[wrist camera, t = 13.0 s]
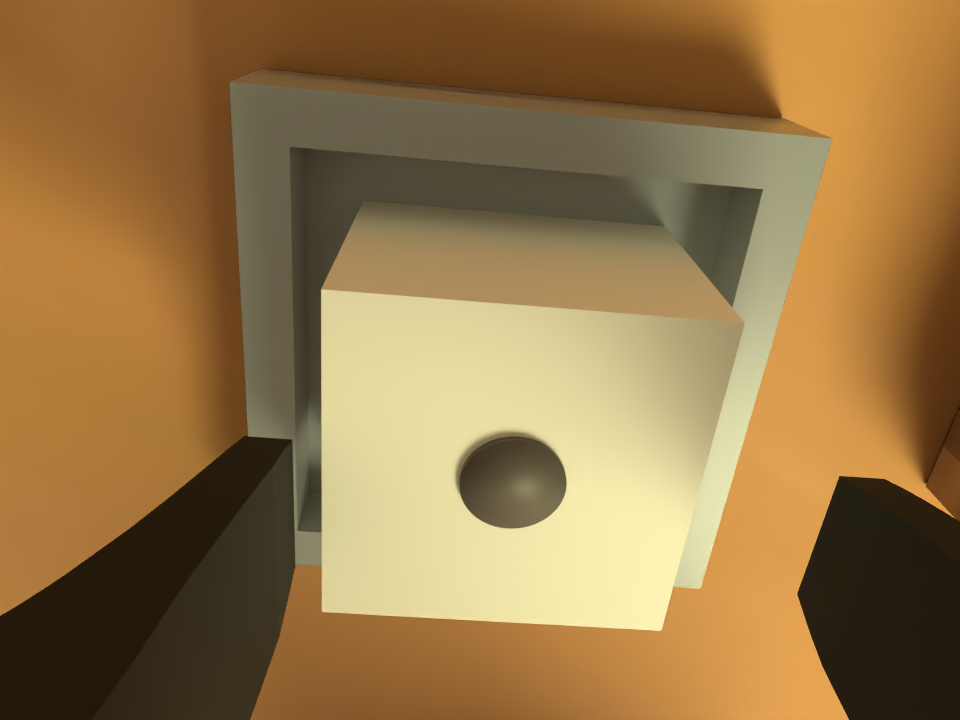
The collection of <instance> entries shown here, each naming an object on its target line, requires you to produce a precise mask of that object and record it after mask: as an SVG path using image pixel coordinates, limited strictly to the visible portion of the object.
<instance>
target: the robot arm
mask: <svg viewBox="0 0 960 720" xmlns="http://www.w3.org/2000/svg"><path fill="white" fill-rule="evenodd" d="M294 569H295V527H294V484H293V441H292V439H279V438H264V437H250V436H244V437H243V438H242V439H240V440H239V441H238V442H236V443H235V444H234V445H233V446H231V447H230V448H229V449H228V450H226V451H225V452H224V453H223V454H222V455H220V456H219V457H218V458H217V459H215V460H214V461H213V462H212V463H211V464H209V465H208V466H207V467H206V468H205V469H203V470H202V471H201V472H200V473H199V474H197V475H196V476H195V477H194V478H192V479H191V480H190V481H189V482H188V483H186V484H185V485H184V486H183V487H182V488H180V489H179V490H178V491H177V492H175V493H174V494H173V495H172V496H171V497H169V498H168V499H167V500H165V501H164V502H163V503H162V504H160V505H159V506H158V507H157V508H155V509H154V510H153V511H151V512H150V513H149V514H148V515H146V516H145V517H144V518H143V519H141V520H140V521H139V522H138V523H136V524H135V525H134V526H132V527H131V528H130V529H129V530H127V531H126V532H124V533H123V534H122V535H120V536H119V537H117V538H116V539H115V540H113V541H112V542H110V543H109V544H108V545H106V546H105V547H103V548H102V549H101V550H99V551H98V552H96V553H95V554H94V555H92V556H91V557H89V558H88V559H87V560H85V561H84V562H82V563H81V564H80V565H78V566H77V567H75V568H74V569H73V570H71V571H70V572H69V573H67V574H66V575H64V576H63V577H61V578H60V579H58V580H57V581H55V582H54V583H52V584H51V585H49V586H48V587H46V588H45V589H43V590H42V591H40V592H38V593H37V594H35V595H34V596H32V597H31V598H29V599H27V600H26V601H24V602H23V603H21V604H20V605H18V606H16V607H15V608H13V609H11V610H10V611H8V612H6V613H5V614H3V615H1V616H0V720H250V718H251V715H252V712H253V710H254V707H255V704H256V701H257V698H258V696H259V693H260V690H261V687H262V684H263V681H264V679H265V676H266V673H267V670H268V667H269V664H270V661H271V659H272V656H273V653H274V650H275V647H276V644H277V641H278V638H279V635H280V631H281V627H282V622H283V618H284V614H285V610H286V605H287V601H288V596H289V592H290V587H291V582H292V578H293V573H294ZM797 594H798V598H799V601H800V604H801V607H802V610H803V613H804V616H805V619H806V622H807V625H808V628H809V631H810V634H811V637H812V639H813V642H814V645H815V647H816V650H817V653H818V655H819V658H820V661H821V664H822V666H823V668H824V670H825V672H826V674H827V676H828V678H829V680H830V682H831V685H832V686H833V688H834V690H835V692H836V694H837V696H838V698H839V700H840V702H841V704H842V706H843V708H844V710H845V712H846V714H847V716H848V718H849V720H960V521H958V520H956V519H955V518H953V517H951V516H950V515H948V514H946V513H945V512H943V511H941V510H940V509H938V508H936V507H935V506H933V505H931V504H930V503H928V502H926V501H925V500H923V499H921V498H919V497H918V496H916V495H914V494H912V493H910V492H909V491H907V490H905V489H903V488H901V487H899V486H897V485H895V484H893V483H891V482H889V481H887V480H885V479H875V478H860V477H845V476H839V479H838V482H837V485H836V487H835V490H834V493H833V496H832V499H831V501H830V504H829V507H828V510H827V513H826V515H825V518H824V521H823V524H822V527H821V529H820V532H819V535H818V538H817V540H816V543H815V546H814V549H813V552H812V554H811V557H810V560H809V563H808V566H807V568H806V571H805V574H804V577H803V580H802V582H801V585H800V588H799V591H798V593H797Z"/></svg>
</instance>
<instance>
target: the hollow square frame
mask: <svg viewBox="0 0 960 720" xmlns="http://www.w3.org/2000/svg"><path fill="white" fill-rule="evenodd" d="M926 487H927V488H928V489H929V490H930V491H931V493H932V494H933V495H934V496H935V497H936V498H937V499H938V500H939V501H940V502H941V503H942V505H943V506H944V507H945V508H946V509H947V510H948V511H949V512H950V513H951V514H952V515H953V516H954V518H955V519H956V520H958V521H960V408H959V410H958V413H957V415H956V417H955V420H954V422H953V424H952V426H951V429H950V431H949V433H948V436H947V438H946V440H945V443H944V445H943V447H942V449H941V452H940V454H939V456H938V459H937V461H936V463H935V466H934V468H933V470H932V472H931V475H930V477H929V479H928V482H927V484H926Z"/></svg>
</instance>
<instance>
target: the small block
mask: <svg viewBox="0 0 960 720" xmlns="http://www.w3.org/2000/svg"><path fill="white" fill-rule="evenodd" d="M744 324H745V322H744V321H743V320H742V319H741V318H740V316H739V315H738V314H737V313H736V312H735V310H734V309H733V308H732V307H731V306H730V304H729V303H728V302H727V301H726V300H725V298H724V297H723V296H722V295H721V294H720V292H719V291H718V290H717V289H716V287H715V286H714V285H713V284H712V283H711V281H710V280H709V279H708V278H707V277H706V275H705V274H704V273H703V272H702V271H701V269H700V268H699V267H698V266H697V265H696V263H695V262H694V261H693V260H692V259H691V257H690V256H689V255H688V254H687V253H686V251H685V250H684V249H683V248H682V246H681V245H680V244H679V243H678V242H677V240H676V239H675V238H674V237H673V236H672V234H671V233H670V232H669V231H668V230H667V228H666V227H665V226H654V225H643V224H631V223H619V222H608V221H596V220H585V219H573V218H561V217H550V216H538V215H526V214H515V213H503V212H491V211H480V210H468V209H457V208H445V207H433V206H422V205H410V204H398V203H387V202H375V201H363V203H362V205H361V207H360V209H359V211H358V213H357V215H356V217H355V219H354V221H353V224H352V226H351V228H350V230H349V232H348V234H347V236H346V238H345V240H344V242H343V245H342V247H341V249H340V251H339V253H338V255H337V257H336V259H335V261H334V264H333V266H332V268H331V270H330V272H329V274H328V276H327V278H326V280H325V282H324V285H323V287H322V289H321V424H322V612H331V613H349V614H368V615H386V616H404V617H422V618H440V619H458V620H477V621H495V622H513V623H531V624H549V625H567V626H586V627H604V628H622V629H640V630H658V631H661V630H662V626H663V623H664V619H665V615H666V611H667V608H668V604H669V600H670V597H671V593H672V589H673V586H674V582H675V578H676V575H677V571H678V567H679V564H680V560H681V556H682V553H683V549H684V545H685V541H686V538H687V534H688V530H689V527H690V523H691V519H692V516H693V512H694V508H695V505H696V501H697V497H698V494H699V490H700V486H701V483H702V479H703V475H704V471H705V468H706V464H707V460H708V457H709V453H710V449H711V446H712V442H713V438H714V435H715V431H716V427H717V424H718V420H719V416H720V413H721V409H722V405H723V401H724V398H725V394H726V390H727V387H728V383H729V379H730V376H731V372H732V368H733V365H734V361H735V357H736V354H737V350H738V346H739V343H740V339H741V335H742V331H743V328H744Z"/></svg>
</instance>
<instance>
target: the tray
mask: <svg viewBox="0 0 960 720" xmlns="http://www.w3.org/2000/svg"><path fill="white" fill-rule="evenodd" d="M229 85H230V104H231V123H232V142H233V161H234V179H235V198H236V217H237V236H238V255H239V274H240V292H241V311H242V330H243V349H244V368H245V387H246V406H247V424H248V436H250V437H264V438H279V439H292V441H293V484H294V527H295V565H308V566H322V424H321V289H322V287H323V285H324V282H325V280H326V278H327V276H328V274H329V272H330V270H331V268H332V266H333V264H334V261H335V259H336V257H337V255H338V253H339V251H340V249H341V247H342V245H343V242H344V240H345V238H346V236H347V234H348V232H349V230H350V228H351V226H352V224H353V221H354V219H355V217H356V215H357V213H358V211H359V209H360V207H361V205H362V203H363V201H375V202H387V203H398V204H410V205H422V206H433V207H445V208H457V209H468V210H480V211H491V212H503V213H515V214H526V215H538V216H550V217H561V218H573V219H585V220H596V221H608V222H619V223H631V224H643V225H654V226H665V227H666V228H667V230H668V231H669V232H670V233H671V234H672V236H673V237H674V238H675V239H676V240H677V242H678V243H679V244H680V245H681V246H682V248H683V249H684V250H685V251H686V253H687V254H688V255H689V256H690V257H691V259H692V260H693V261H694V262H695V263H696V265H697V266H698V267H699V268H700V269H701V271H702V272H703V273H704V274H705V275H706V277H707V278H708V279H709V280H710V281H711V283H712V284H713V285H714V286H715V287H716V289H717V290H718V291H719V292H720V294H721V295H722V296H723V297H724V298H725V300H726V301H727V302H728V303H729V304H730V306H731V307H732V308H733V309H734V310H735V312H736V313H737V314H738V315H739V316H740V318H741V319H742V320H743V321H744V322H745V324H744V328H743V331H742V335H741V339H740V343H739V346H738V350H737V354H736V357H735V361H734V365H733V368H732V372H731V376H730V379H729V383H728V387H727V390H726V394H725V398H724V401H723V405H722V409H721V413H720V416H719V420H718V424H717V427H716V431H715V435H714V438H713V442H712V446H711V449H710V453H709V457H708V460H707V464H706V468H705V471H704V475H703V479H702V483H701V486H700V490H699V494H698V497H697V501H696V505H695V508H694V512H693V516H692V519H691V523H690V527H689V530H688V534H687V538H686V541H685V545H684V549H683V553H682V556H681V560H680V564H679V567H678V571H677V575H676V578H675V582H674V586H673V587H683V588H701V584H702V581H703V578H704V574H705V571H706V567H707V564H708V561H709V557H710V554H711V550H712V547H713V544H714V540H715V537H716V533H717V530H718V527H719V523H720V520H721V516H722V513H723V509H724V506H725V503H726V499H727V496H728V492H729V489H730V486H731V482H732V479H733V475H734V472H735V469H736V465H737V462H738V458H739V455H740V452H741V448H742V445H743V441H744V438H745V434H746V431H747V428H748V424H749V421H750V417H751V414H752V411H753V407H754V404H755V400H756V397H757V394H758V390H759V387H760V383H761V380H762V377H763V373H764V370H765V366H766V363H767V359H768V356H769V353H770V349H771V346H772V342H773V339H774V336H775V332H776V329H777V325H778V322H779V319H780V315H781V312H782V308H783V305H784V302H785V298H786V295H787V291H788V288H789V284H790V281H791V278H792V274H793V271H794V267H795V264H796V261H797V257H798V254H799V250H800V247H801V244H802V240H803V237H804V233H805V230H806V227H807V223H808V220H809V216H810V213H811V210H812V206H813V203H814V199H815V196H816V192H817V189H818V186H819V182H820V179H821V175H822V172H823V169H824V165H825V162H826V158H827V155H828V152H829V148H830V145H831V141H832V138H830V137H827V136H825V135H822V134H820V133H818V132H815V131H813V130H810V129H808V128H806V127H803V126H801V125H798V124H796V123H794V122H791V121H789V120H786V119H783V118H772V117H762V116H751V115H741V114H730V113H720V112H709V111H699V110H688V109H678V108H667V107H657V106H646V105H636V104H626V103H615V102H605V101H594V100H584V99H573V98H563V97H552V96H542V95H531V94H521V93H510V92H500V91H489V90H479V89H468V88H458V87H447V86H437V85H426V84H416V83H405V82H395V81H384V80H374V79H363V78H353V77H343V76H332V75H322V74H311V73H301V72H290V71H280V70H269V69H260V70H257V71H255V72H252V73H250V74H247V75H245V76H242V77H240V78H237V79H235V80H232V81H230V82H229Z"/></svg>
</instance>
